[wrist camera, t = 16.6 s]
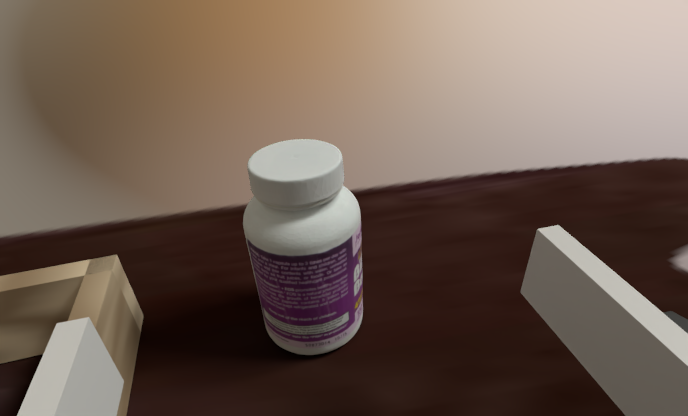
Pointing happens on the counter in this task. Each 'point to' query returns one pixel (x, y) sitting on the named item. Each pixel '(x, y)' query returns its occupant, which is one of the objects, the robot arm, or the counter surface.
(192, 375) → the counter surface
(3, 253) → the counter surface
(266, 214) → the pill bottle
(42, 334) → the wooden frame
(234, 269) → the counter surface
